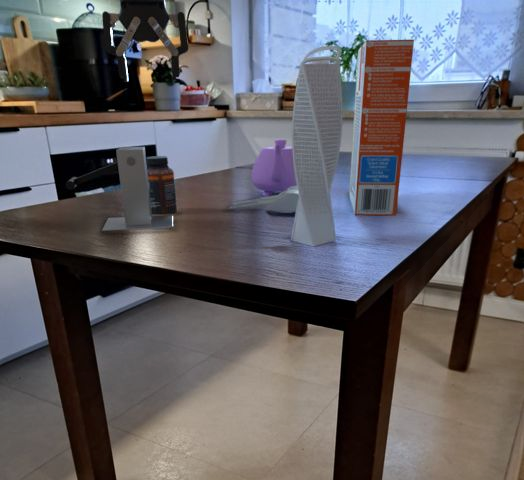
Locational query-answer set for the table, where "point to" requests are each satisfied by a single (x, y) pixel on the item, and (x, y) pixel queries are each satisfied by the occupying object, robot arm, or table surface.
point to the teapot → (274, 169)
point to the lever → (90, 176)
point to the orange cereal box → (379, 125)
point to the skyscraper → (316, 145)
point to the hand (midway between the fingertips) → (150, 81)
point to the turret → (272, 202)
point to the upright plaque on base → (135, 194)
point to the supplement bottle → (161, 186)
